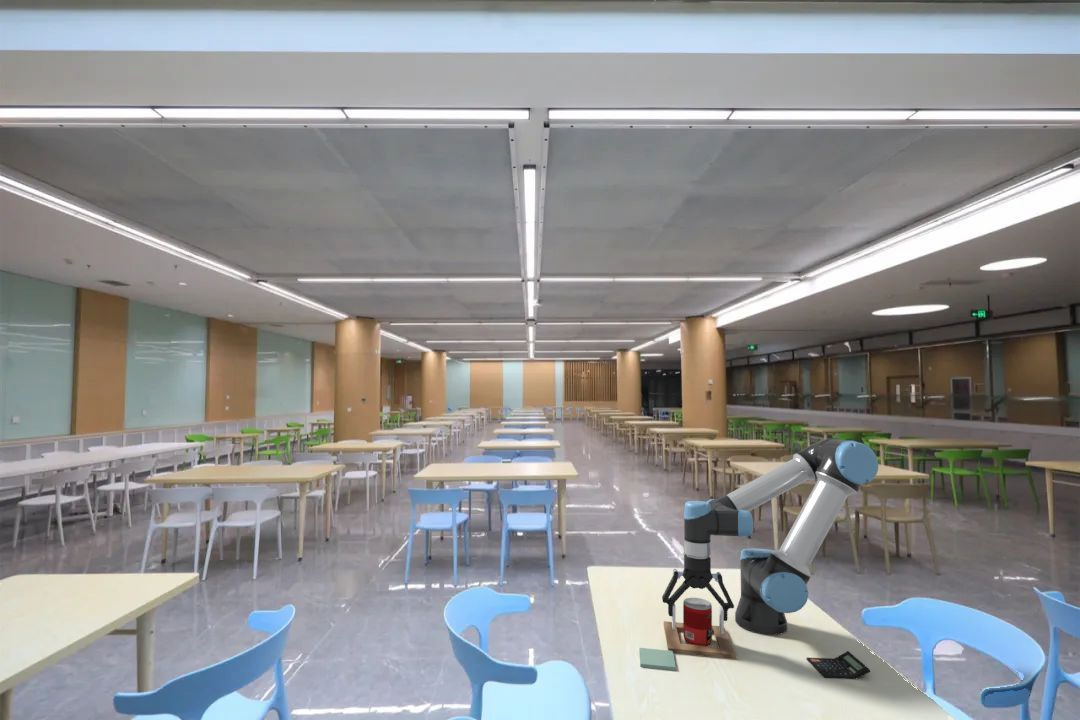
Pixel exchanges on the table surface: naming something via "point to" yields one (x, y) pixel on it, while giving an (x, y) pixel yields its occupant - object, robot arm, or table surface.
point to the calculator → (839, 666)
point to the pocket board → (721, 652)
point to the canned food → (697, 621)
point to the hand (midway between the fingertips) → (697, 629)
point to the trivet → (657, 659)
